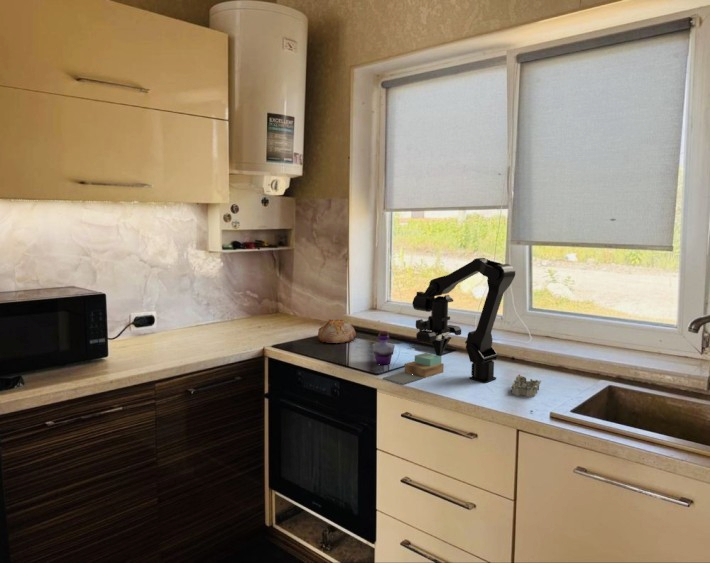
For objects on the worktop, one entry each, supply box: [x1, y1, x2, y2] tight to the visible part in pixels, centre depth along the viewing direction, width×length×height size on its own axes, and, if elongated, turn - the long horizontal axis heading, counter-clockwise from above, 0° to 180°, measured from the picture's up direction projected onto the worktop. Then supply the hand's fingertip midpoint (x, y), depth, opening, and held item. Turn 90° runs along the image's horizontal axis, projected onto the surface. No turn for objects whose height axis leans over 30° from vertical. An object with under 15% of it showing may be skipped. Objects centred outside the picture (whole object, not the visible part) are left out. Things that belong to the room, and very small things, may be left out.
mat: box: [382, 371, 424, 386], centre depth 182 cm, size 9×10×1 cm
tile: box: [414, 352, 442, 366], centre depth 191 cm, size 7×6×2 cm
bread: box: [317, 319, 357, 345], centre depth 239 cm, size 16×20×10 cm
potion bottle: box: [372, 330, 395, 366], centre depth 200 cm, size 9×9×12 cm
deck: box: [404, 360, 444, 379], centre depth 190 cm, size 9×10×3 cm
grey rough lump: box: [511, 373, 542, 398], centre depth 169 cm, size 11×8×4 cm
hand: (438, 356), depth 195 cm, fingers closed
